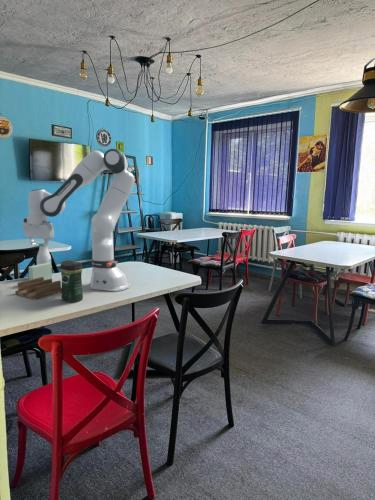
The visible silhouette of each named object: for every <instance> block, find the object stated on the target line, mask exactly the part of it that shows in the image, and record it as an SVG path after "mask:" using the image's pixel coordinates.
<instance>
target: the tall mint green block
mask: <svg viewBox="0 0 375 500" xmlns="http://www.w3.org/2000/svg"><path fill="white" fill-rule="evenodd" d="M51 268H52V262H51V263H44V264H39V265H37V264H35V265H31V266H28V278H29V279H28V280H32V279H36V278H40V277H44V280H47V279H52V280H53V275H52V274H53V272H52V271H53V270H52V269H51Z"/></svg>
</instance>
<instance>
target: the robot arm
mask: <svg viewBox="0 0 375 500" xmlns="http://www.w3.org/2000/svg"><path fill="white" fill-rule="evenodd" d="M127 159H128V158H127V157H126V155H125V154H124V153H123V152H122V151H121V150H119V149H117V148H109V149H107V150H106V151H105V152H104V153H103V152H102V151H100V150H92V151H91V152H89V153H88V154H87V155H86V156H84V157H83V159H81V161H79V162H78V164H77V165H76V166H75V167H74V169H73V170H72V171H71V173H70V176H69V177H68V178H67V179H66V181H64V182H63V184H62V185H60V187H58V188H57V190H56V191H54V192H53V193H50V192H48V191H47V190H45V189H44V188H39V189H32V190H30V191H29V193H28V197H27V198H28V199H27V201H28V204H27V205H28V209H29V211H28V216H27V217H23V218H22V223H23V224H22V232H23V235H24V237H28V239H29V241H30V245H31V246H36V241H35V240H34V239H35V238H37V239H43V241H44V242H43V243H44V244H43V247H47V246H49V245H48V243H49V241H50V240H54V238H55V229H54V225H53V223H52V222H51V221H49V220H48V217H51V218H52V217H53V218H54V217H56V216H58V215H59V214H61V213H63V212H64V211H65V210H66V206H67V205H66V201H67V200H68V199H69V198H70V197H71V196H72V194H74V192H75V191H78V190H79V189H81V188H82V187H86V186H88V185H89V184H91V183H92V182H93V181H95V179H97V178H98V176H99V175H100V174H101V173H102V172H103V171H107V172H109V173H111V174H113V179H112V181H111V183H110V186H109V187H108V189H107V190H106V192H105V195H104V197H103V198H102V201H101V203H100V205H99V208H98V209H97V212H96V213H94V215H93V216H92V218H91V245H92V247H91V249H92V254H91V255H92V259H91V267H92V269H91V278H90V279H91V280H90V284H89V286H90V288H89V289H92V290H93V289H94V290H99V291H105V292H106V291H109V292H120V291H123V290H127V289H129V288H131V287H132V284H131V283H129V282H128V280H127V276H126V275H125V273H124V272H123V271H122V270H120V268H119V267H117V264H118V262H119V261H116V260H115V258H114V257H115V256H114V232H113V231H114V229H115V227H116V224H117V222H118V221H119V218H120V216H121V213H122V210H123V209H124V207H125V204H126V203H127V201H128V200H129V197H130V195H131V193H132V190H133V189H134V185H135V182H136V178H135V175H134V174H133V173H132V172H130V171H129V168H130V165H129V161H128V160H127ZM47 248H48V247H47Z"/></svg>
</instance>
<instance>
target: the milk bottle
mask: <svg viewBox="0 0 375 500" xmlns="http://www.w3.org/2000/svg"><path fill="white" fill-rule="evenodd" d="M43 244H44V242H39V243H38V247H39V249H38V251H37V255H36V265H39V264H44V263H51V264H52V257H51V254H50V252H49V249H48V246H49V245H48V246H47V247H43ZM51 269H52V267H51Z"/></svg>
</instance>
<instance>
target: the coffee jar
mask: <svg viewBox="0 0 375 500" xmlns="http://www.w3.org/2000/svg"><path fill="white" fill-rule="evenodd" d="M82 272H83V264H82V263H81V262H79V261H74V260H64V261H62V262H60V273H61V275H60V276H61V288H62V292H60V293H61V300H62V301H66V302H67V303H68V302H69V303H73V302H74V303H75V302H76V303H77V302H78V303H79V302H80V301H81V300H83V298H84V294H83V293H84V292H83V283H82Z"/></svg>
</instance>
